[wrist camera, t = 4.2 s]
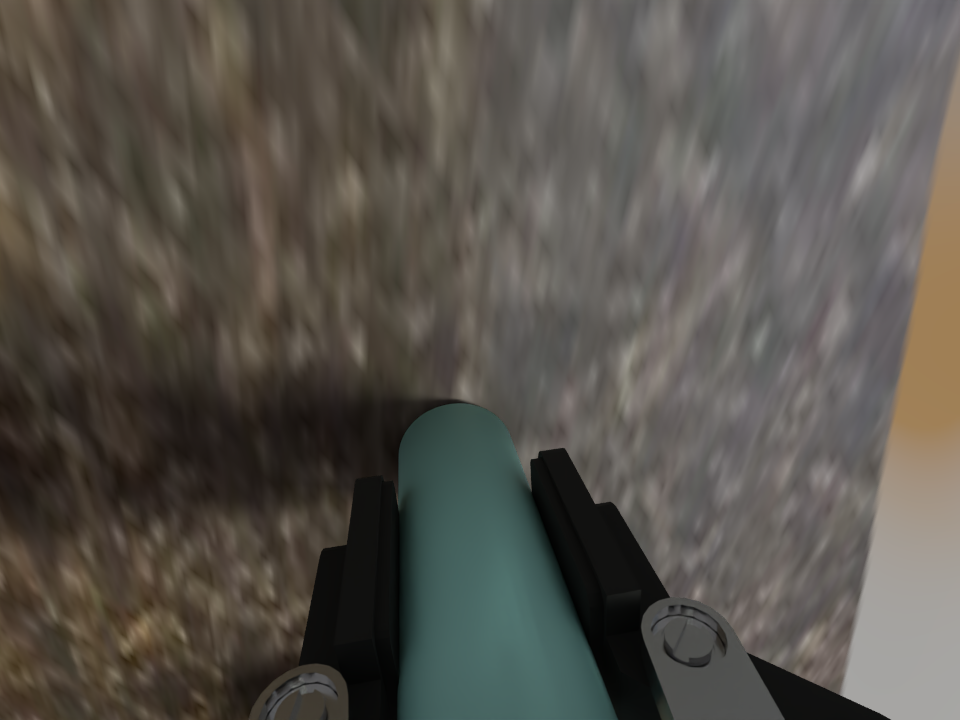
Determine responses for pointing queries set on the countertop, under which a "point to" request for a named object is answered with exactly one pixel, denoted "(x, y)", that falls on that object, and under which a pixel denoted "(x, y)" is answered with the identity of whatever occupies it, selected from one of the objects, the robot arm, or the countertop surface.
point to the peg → (482, 584)
